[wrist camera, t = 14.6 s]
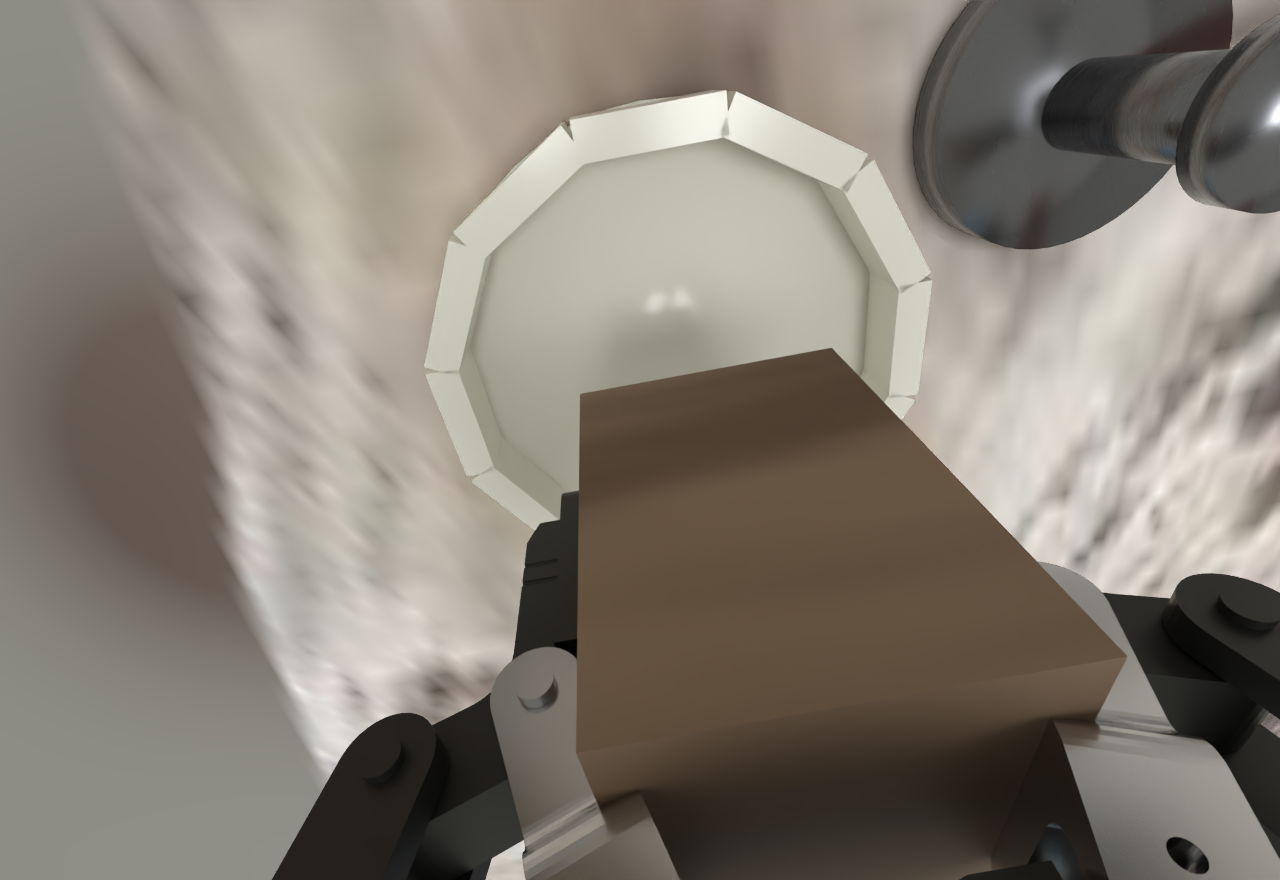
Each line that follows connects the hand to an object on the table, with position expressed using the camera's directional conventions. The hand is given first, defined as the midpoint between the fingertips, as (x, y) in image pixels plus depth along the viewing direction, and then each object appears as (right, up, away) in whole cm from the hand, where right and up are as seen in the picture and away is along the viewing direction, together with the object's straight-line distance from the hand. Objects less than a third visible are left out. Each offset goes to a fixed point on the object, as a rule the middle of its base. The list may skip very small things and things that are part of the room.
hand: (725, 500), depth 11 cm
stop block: (0, +1, +1) cm, 1 cm away
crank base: (+9, +10, +4) cm, 14 cm away
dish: (-1, +4, +7) cm, 8 cm away
